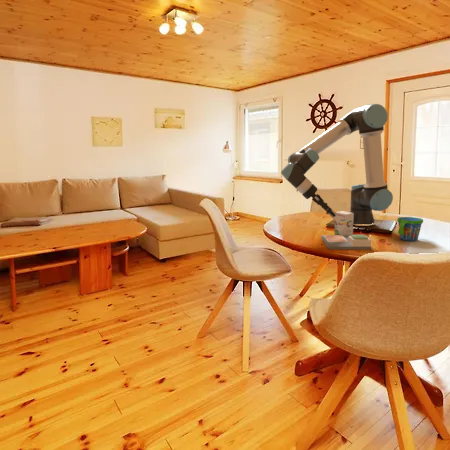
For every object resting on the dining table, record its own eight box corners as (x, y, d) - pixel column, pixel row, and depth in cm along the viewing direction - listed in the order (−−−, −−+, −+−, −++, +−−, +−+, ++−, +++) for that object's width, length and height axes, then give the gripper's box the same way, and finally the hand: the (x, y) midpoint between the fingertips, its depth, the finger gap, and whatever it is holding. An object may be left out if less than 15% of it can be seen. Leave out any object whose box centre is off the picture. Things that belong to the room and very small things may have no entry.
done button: (364, 239, 162) (364, 234, 161) (367, 242, 156) (368, 237, 156) (351, 239, 163) (351, 234, 162) (354, 242, 157) (354, 237, 157)
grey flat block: (358, 237, 176) (359, 229, 175) (371, 249, 156) (371, 239, 155) (321, 237, 178) (321, 229, 177) (328, 249, 158) (329, 240, 157)
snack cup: (408, 235, 178) (410, 215, 176) (429, 239, 169) (431, 218, 167) (388, 239, 171) (389, 218, 169) (408, 244, 162) (410, 222, 160)
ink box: (333, 233, 186) (334, 211, 183) (341, 232, 187) (342, 210, 185) (345, 237, 178) (346, 213, 175) (353, 236, 180) (354, 213, 177)
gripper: (299, 191, 192) (326, 218, 194) (304, 197, 168) (335, 228, 170) (309, 181, 191) (337, 208, 192) (315, 185, 166) (347, 217, 168)
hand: (336, 218), depth 181 cm, fingers open, 13 cm apart
